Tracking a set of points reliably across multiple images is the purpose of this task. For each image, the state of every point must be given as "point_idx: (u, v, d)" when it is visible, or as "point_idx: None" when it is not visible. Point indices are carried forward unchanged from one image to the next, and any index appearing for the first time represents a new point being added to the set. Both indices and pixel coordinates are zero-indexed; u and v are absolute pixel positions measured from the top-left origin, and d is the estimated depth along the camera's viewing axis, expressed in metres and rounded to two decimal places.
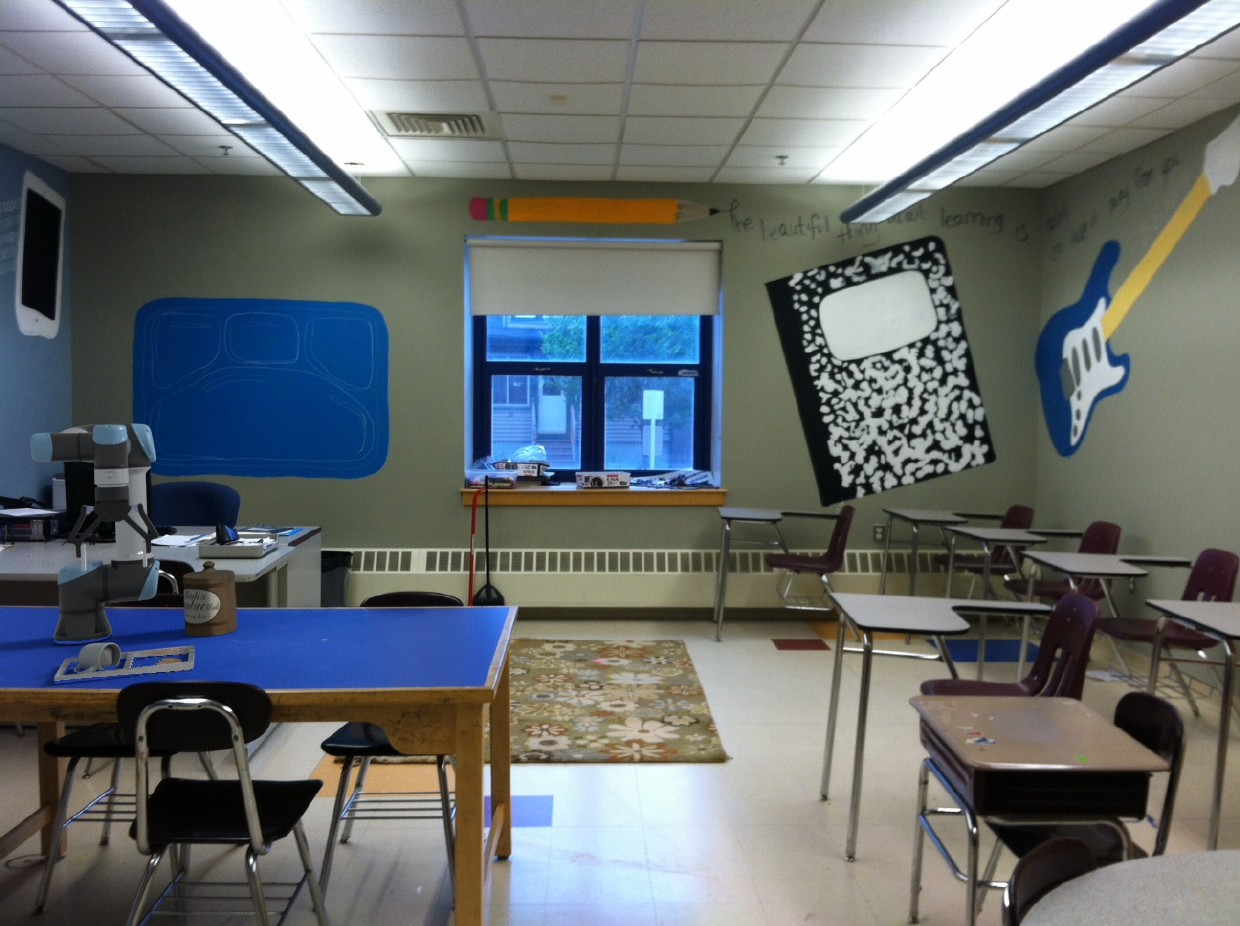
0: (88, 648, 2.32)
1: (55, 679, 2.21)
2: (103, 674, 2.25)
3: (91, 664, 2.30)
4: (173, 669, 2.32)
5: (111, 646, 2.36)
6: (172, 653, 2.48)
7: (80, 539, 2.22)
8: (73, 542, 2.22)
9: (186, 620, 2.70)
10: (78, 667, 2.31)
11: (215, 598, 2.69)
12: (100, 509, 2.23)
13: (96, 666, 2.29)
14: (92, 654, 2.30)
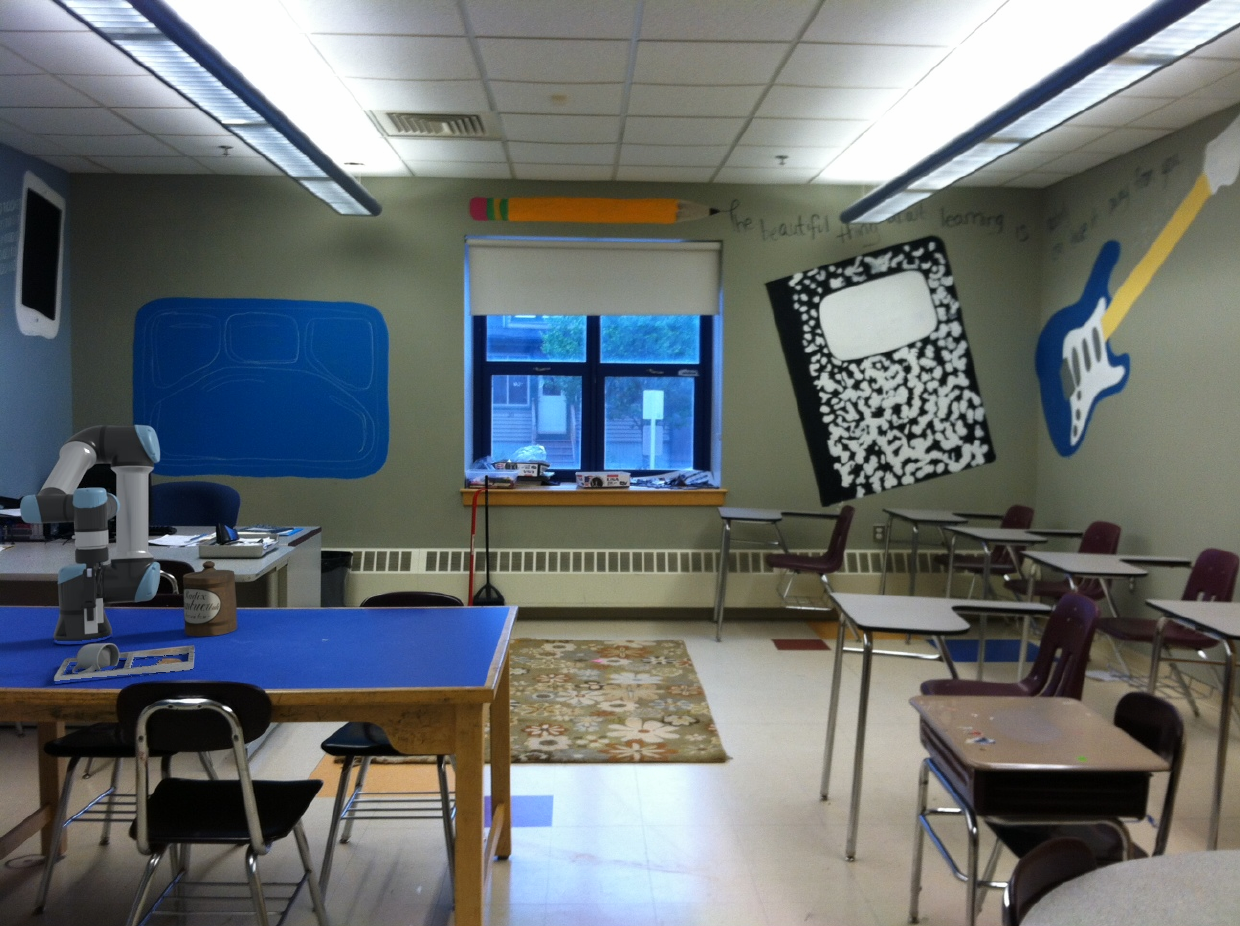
0: (86, 648, 2.31)
1: (55, 679, 2.21)
2: (103, 674, 2.25)
3: (89, 665, 2.30)
4: (173, 669, 2.32)
5: (109, 646, 2.35)
6: (172, 653, 2.48)
7: None
8: None
9: (186, 620, 2.70)
10: (76, 668, 2.30)
11: (215, 598, 2.69)
12: None
13: (94, 667, 2.29)
14: (90, 655, 2.30)
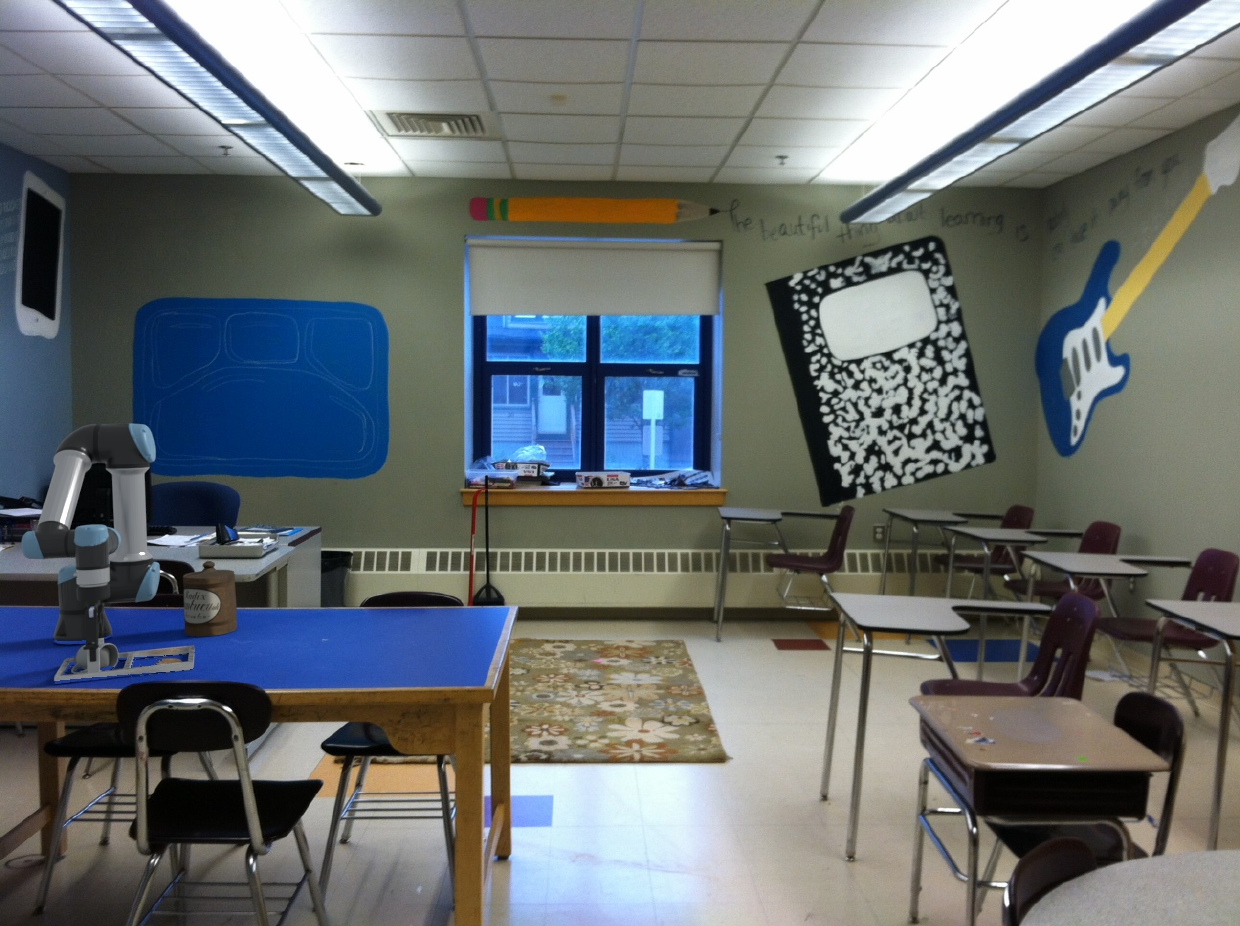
0: None
1: (55, 679, 2.21)
2: (103, 674, 2.25)
3: None
4: (173, 669, 2.32)
5: (109, 646, 2.35)
6: (172, 653, 2.48)
7: None
8: None
9: (186, 620, 2.70)
10: (75, 667, 2.30)
11: (215, 598, 2.69)
12: None
13: None
14: None
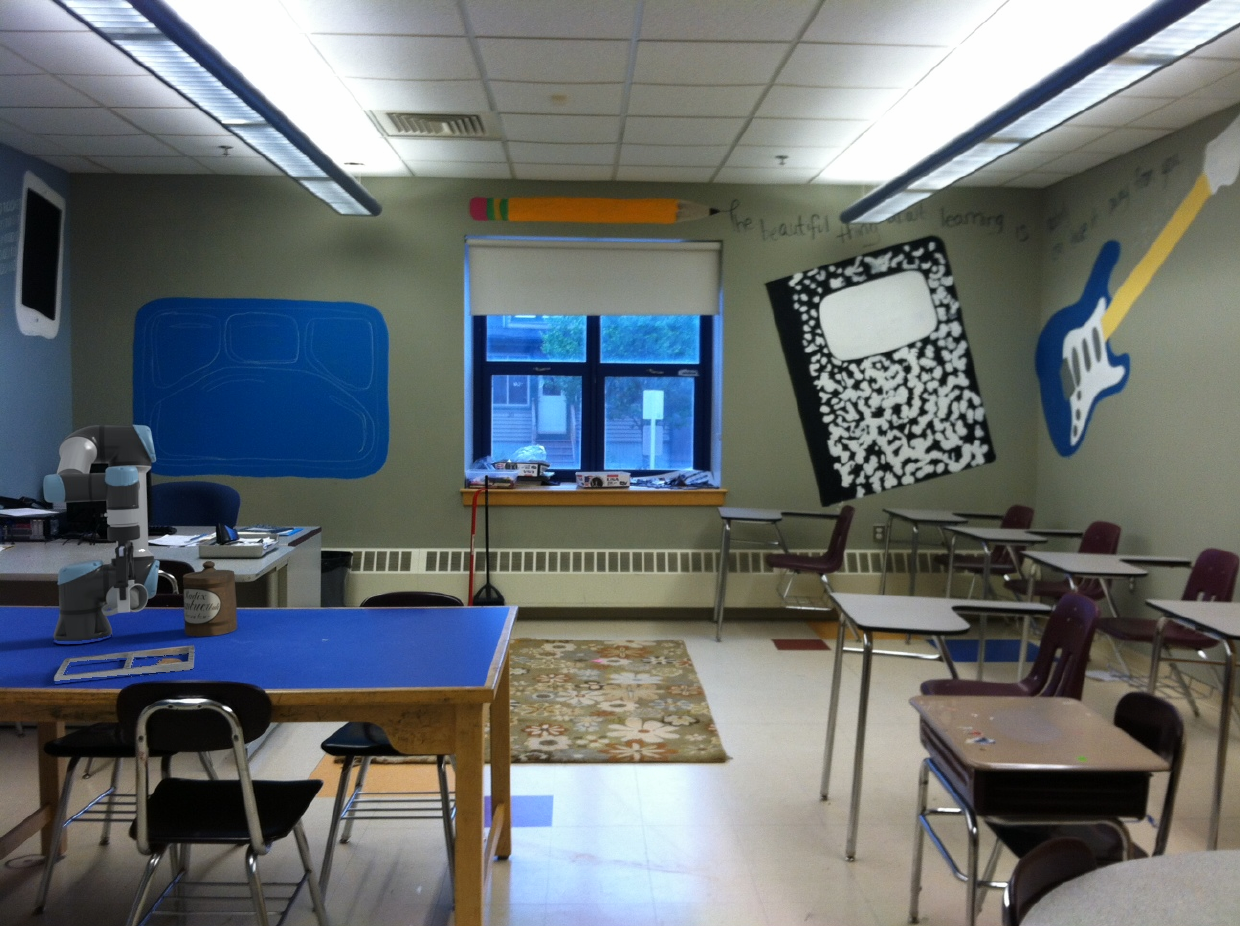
0: (115, 588, 2.33)
1: (55, 679, 2.21)
2: (103, 674, 2.25)
3: None
4: (173, 669, 2.32)
5: (138, 588, 2.37)
6: (172, 653, 2.48)
7: None
8: None
9: (186, 620, 2.70)
10: (106, 607, 2.32)
11: (215, 598, 2.69)
12: None
13: None
14: None
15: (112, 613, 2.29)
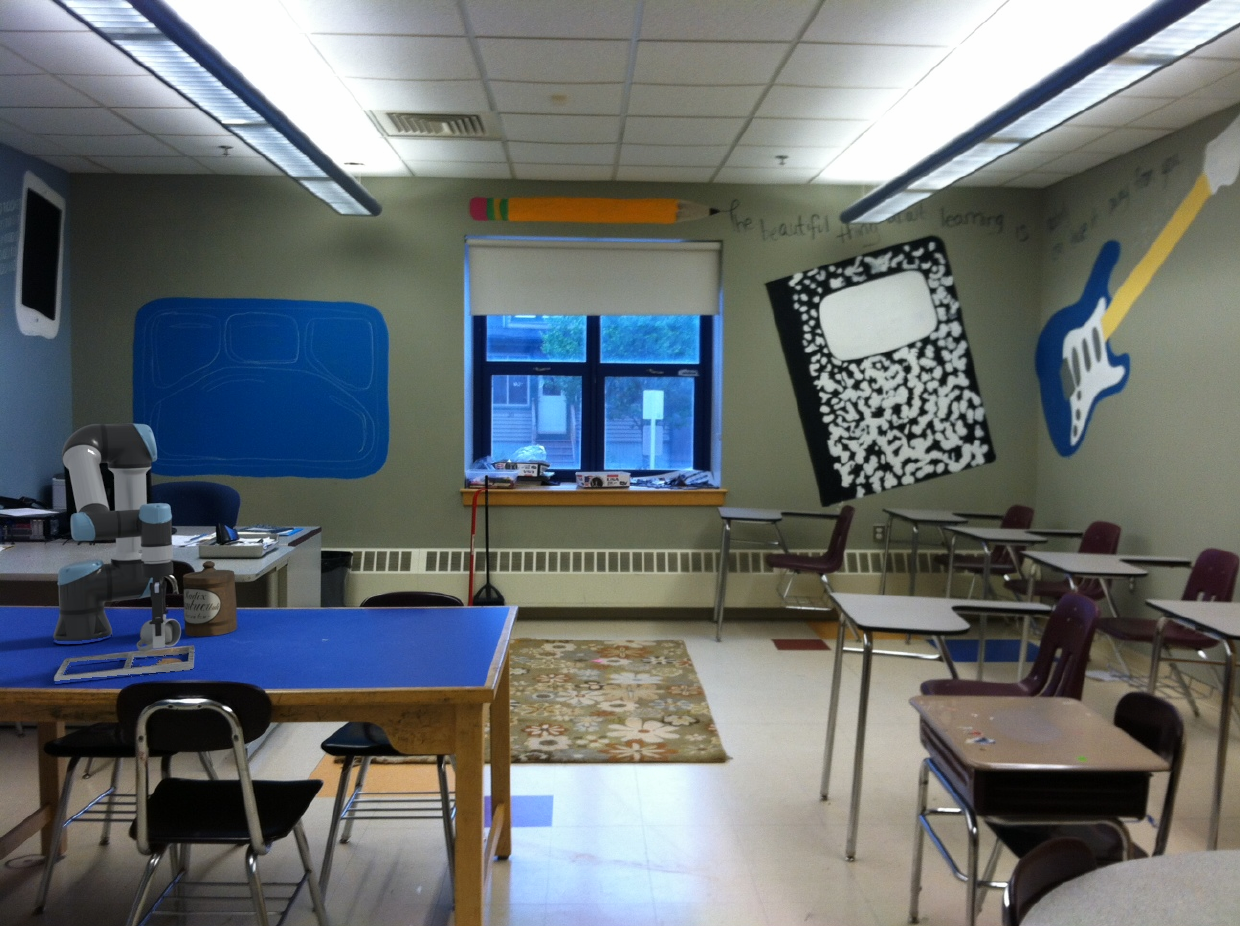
0: (150, 624, 2.37)
1: (55, 679, 2.21)
2: (103, 674, 2.25)
3: None
4: (173, 669, 2.32)
5: (171, 622, 2.41)
6: (172, 653, 2.48)
7: None
8: None
9: (186, 620, 2.70)
10: (140, 642, 2.36)
11: (215, 598, 2.69)
12: None
13: None
14: None
15: (147, 649, 2.33)
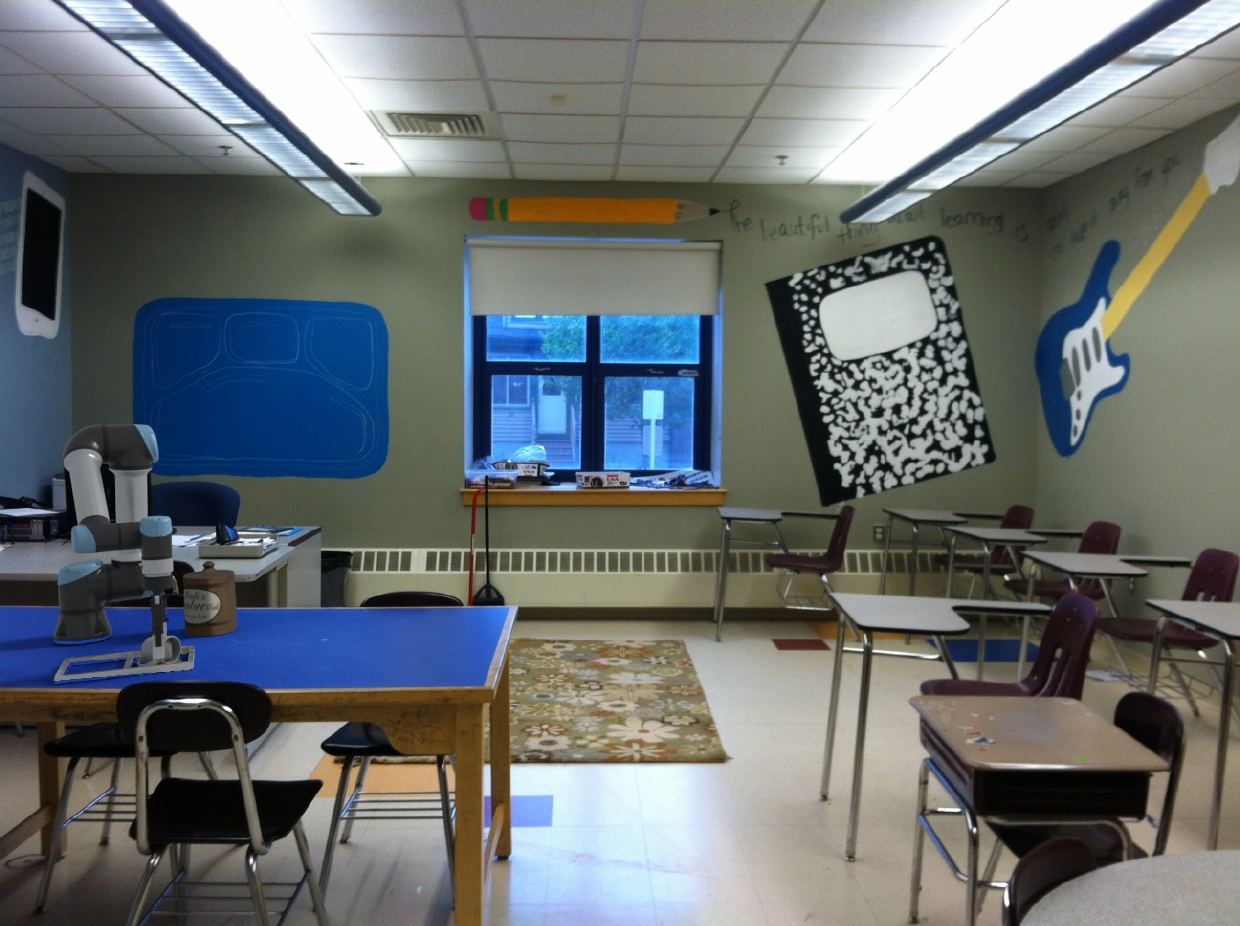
0: (150, 641, 2.37)
1: (55, 679, 2.21)
2: (103, 674, 2.25)
3: None
4: (173, 669, 2.32)
5: (172, 639, 2.41)
6: None
7: None
8: None
9: (186, 620, 2.70)
10: (140, 659, 2.36)
11: (215, 598, 2.69)
12: None
13: (158, 659, 2.35)
14: None
15: None
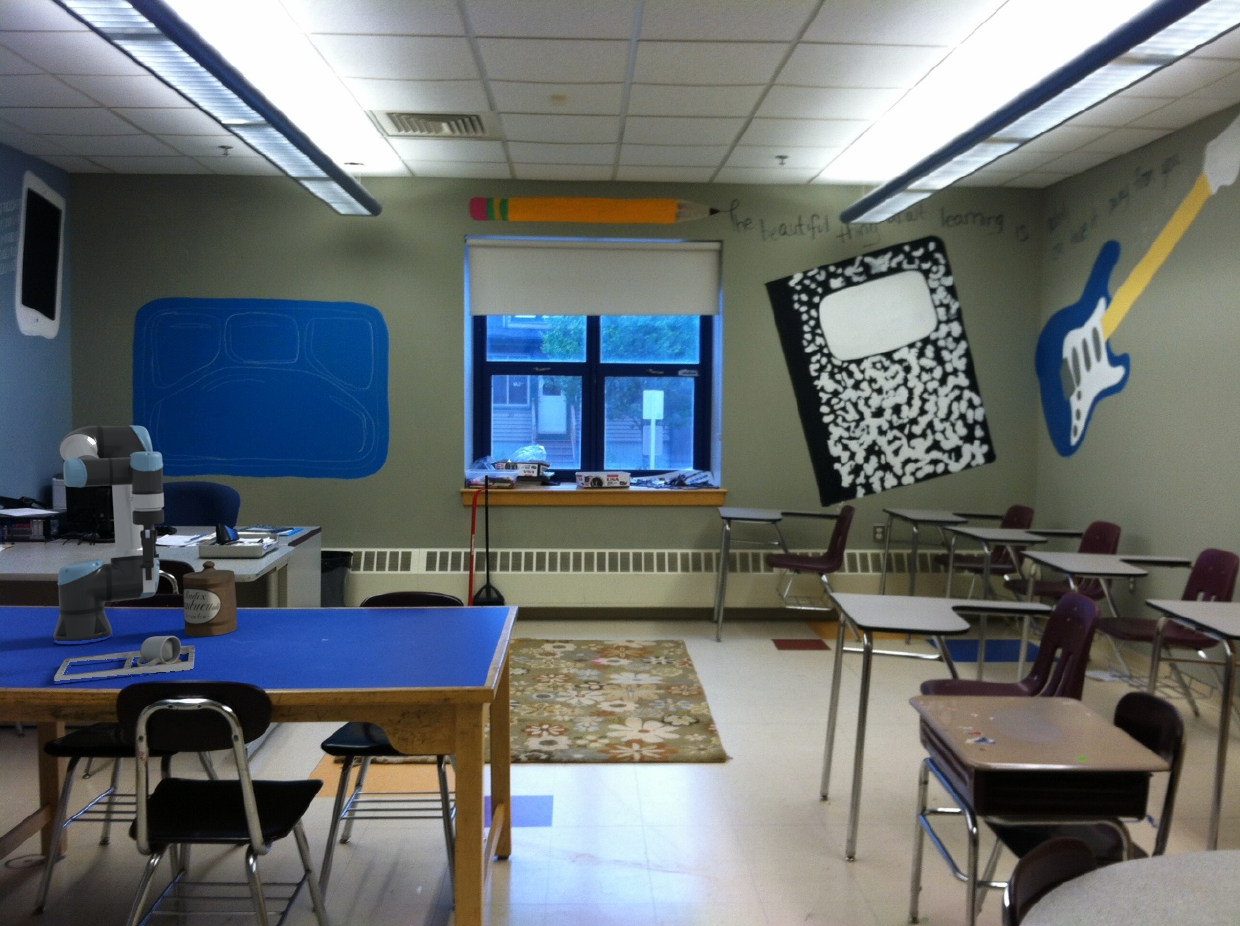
0: (150, 641, 2.37)
1: (55, 679, 2.21)
2: (103, 674, 2.25)
3: (153, 657, 2.36)
4: (173, 669, 2.32)
5: (172, 639, 2.41)
6: None
7: None
8: None
9: (186, 620, 2.70)
10: (140, 659, 2.36)
11: (215, 598, 2.69)
12: None
13: (158, 659, 2.35)
14: (154, 647, 2.36)
15: None
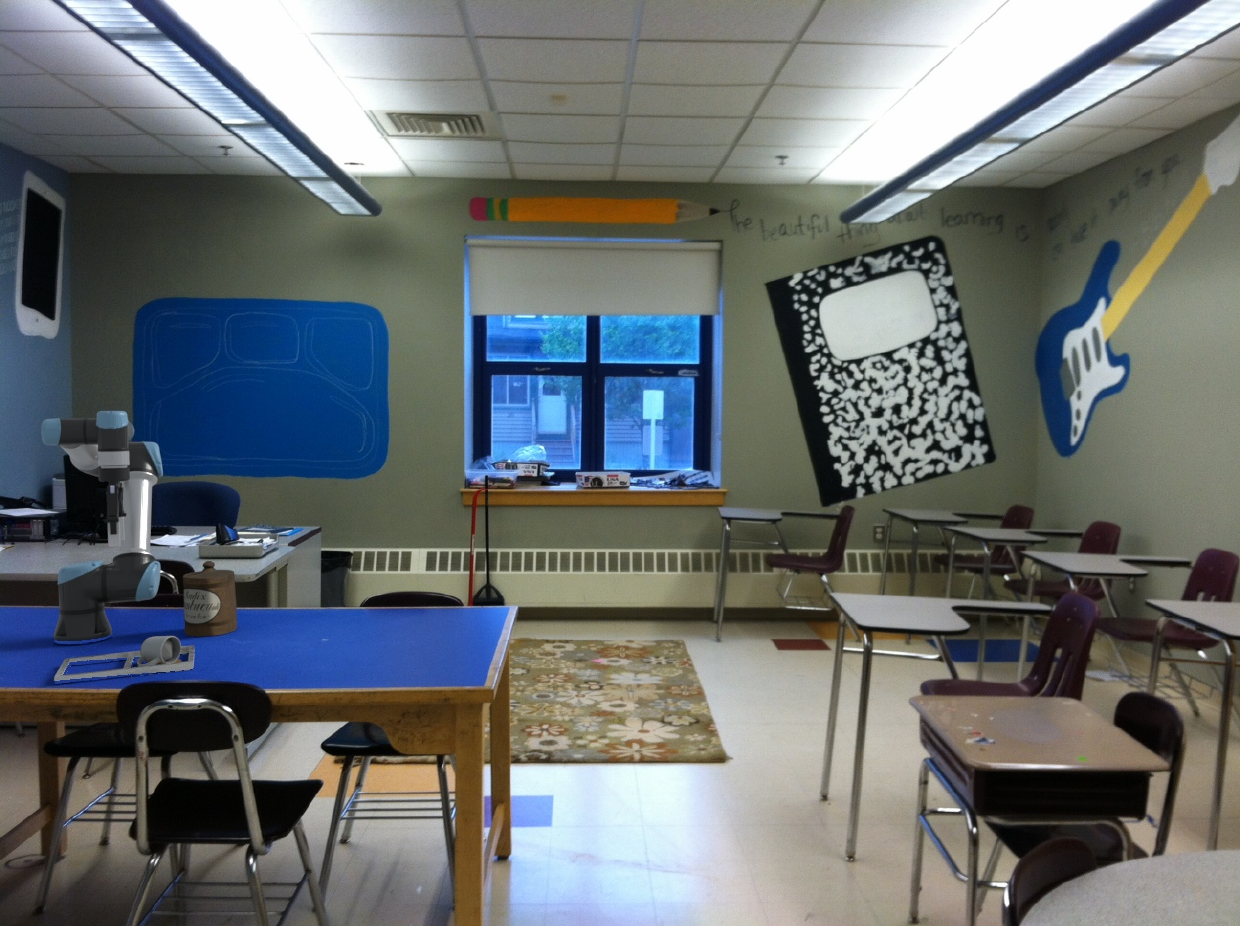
0: (150, 641, 2.37)
1: (55, 679, 2.21)
2: (103, 674, 2.25)
3: (153, 657, 2.36)
4: (173, 669, 2.32)
5: (172, 639, 2.41)
6: None
7: None
8: None
9: (186, 620, 2.70)
10: (140, 659, 2.36)
11: (215, 598, 2.69)
12: None
13: (158, 659, 2.35)
14: (154, 647, 2.36)
15: None
